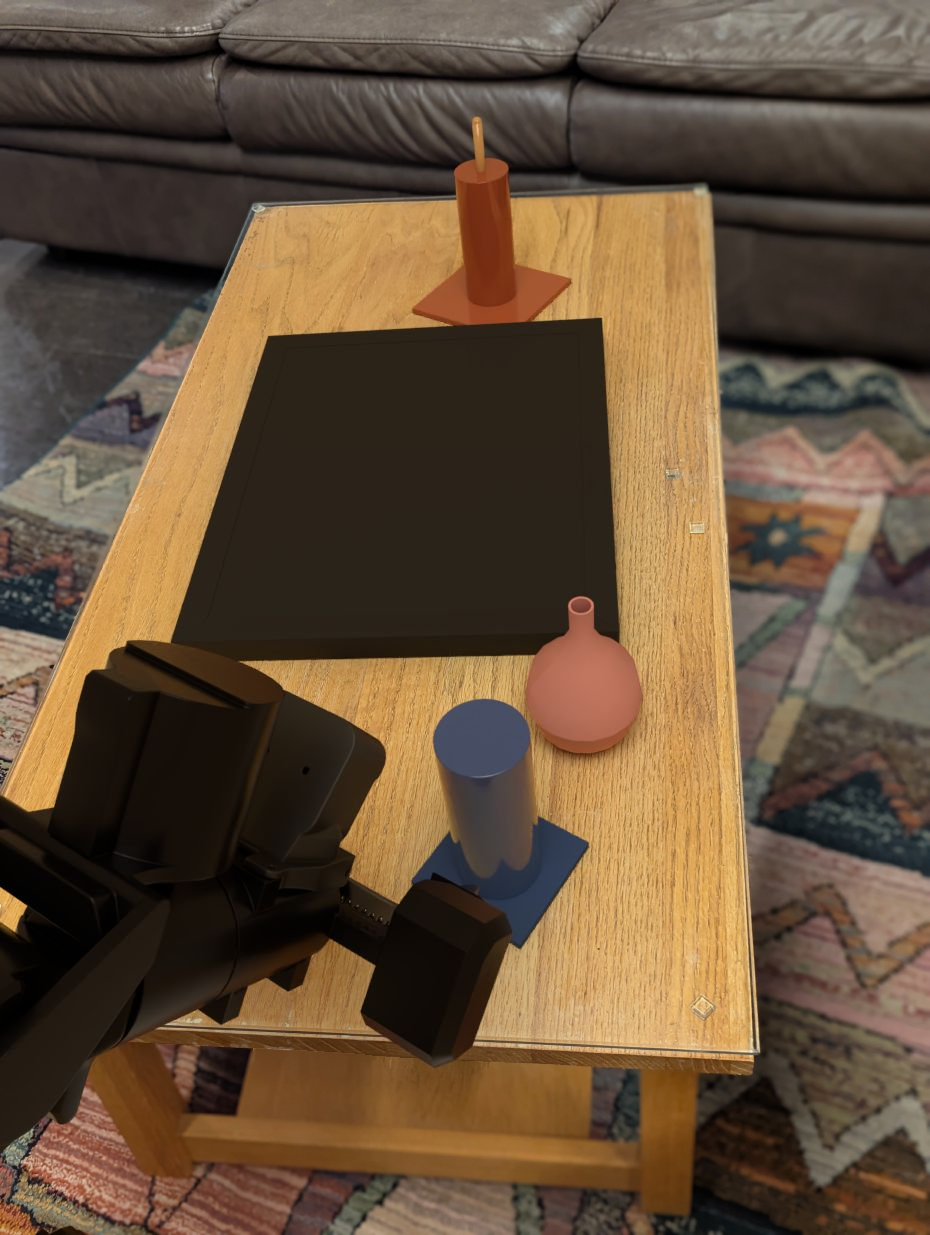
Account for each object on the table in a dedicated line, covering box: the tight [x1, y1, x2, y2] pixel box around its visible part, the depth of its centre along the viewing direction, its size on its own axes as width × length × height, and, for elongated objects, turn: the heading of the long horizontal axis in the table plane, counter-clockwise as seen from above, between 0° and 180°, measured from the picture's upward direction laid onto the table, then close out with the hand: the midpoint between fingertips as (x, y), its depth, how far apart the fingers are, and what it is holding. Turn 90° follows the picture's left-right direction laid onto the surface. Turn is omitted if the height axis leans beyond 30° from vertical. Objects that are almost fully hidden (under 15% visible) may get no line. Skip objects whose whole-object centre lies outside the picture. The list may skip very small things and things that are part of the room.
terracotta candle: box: [453, 116, 517, 306], centre depth 105 cm, size 5×5×18 cm
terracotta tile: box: [411, 263, 572, 326], centre depth 112 cm, size 12×12×1 cm
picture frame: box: [170, 317, 621, 662], centre depth 92 cm, size 40×2×33 cm
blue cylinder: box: [432, 698, 541, 900], centre depth 62 cm, size 5×5×13 cm
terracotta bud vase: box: [524, 597, 644, 754], centre depth 69 cm, size 8×8×12 cm
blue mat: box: [410, 815, 590, 950], centre depth 67 cm, size 8×8×1 cm
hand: (394, 853), depth 53 cm, fingers open, 9 cm apart
